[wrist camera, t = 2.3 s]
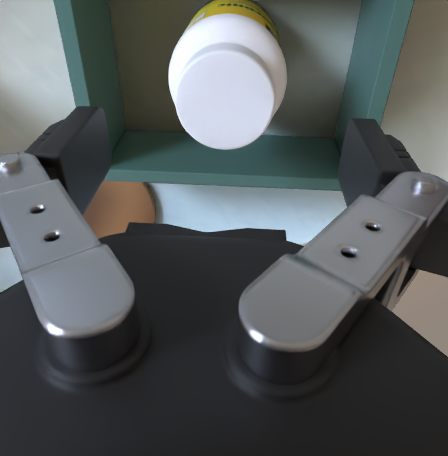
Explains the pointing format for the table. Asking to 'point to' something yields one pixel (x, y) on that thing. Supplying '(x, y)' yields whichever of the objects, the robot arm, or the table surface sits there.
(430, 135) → the table surface
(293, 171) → the box
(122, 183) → the cork trivet
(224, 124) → the supplement bottle
